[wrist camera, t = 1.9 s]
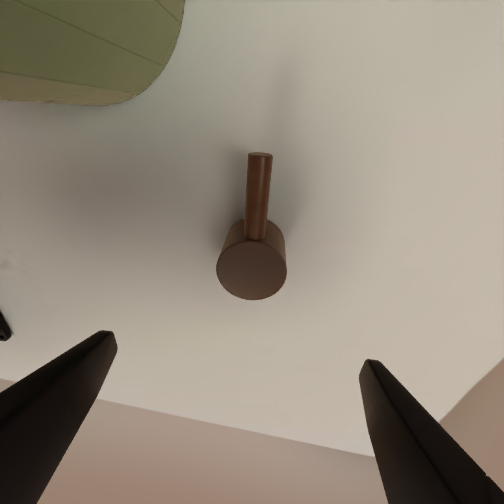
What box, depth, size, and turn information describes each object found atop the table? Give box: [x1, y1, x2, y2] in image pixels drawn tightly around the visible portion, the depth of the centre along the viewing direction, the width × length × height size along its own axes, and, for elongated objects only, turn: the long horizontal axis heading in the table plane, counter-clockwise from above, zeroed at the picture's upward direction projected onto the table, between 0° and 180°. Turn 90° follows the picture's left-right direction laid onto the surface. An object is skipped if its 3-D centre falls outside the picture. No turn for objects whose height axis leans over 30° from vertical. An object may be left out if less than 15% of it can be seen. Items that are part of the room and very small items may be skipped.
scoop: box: [216, 152, 287, 300], centre depth 14 cm, size 8×4×3 cm, turn 176°
